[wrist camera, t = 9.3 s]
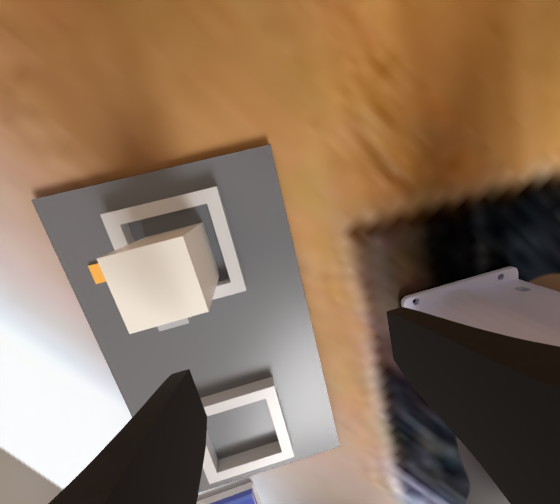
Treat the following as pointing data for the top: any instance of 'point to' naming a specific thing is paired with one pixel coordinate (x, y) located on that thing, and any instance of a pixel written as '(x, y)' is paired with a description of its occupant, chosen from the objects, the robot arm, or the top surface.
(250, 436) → the port panel
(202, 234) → the plug
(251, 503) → the hard drive
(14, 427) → the top surface
